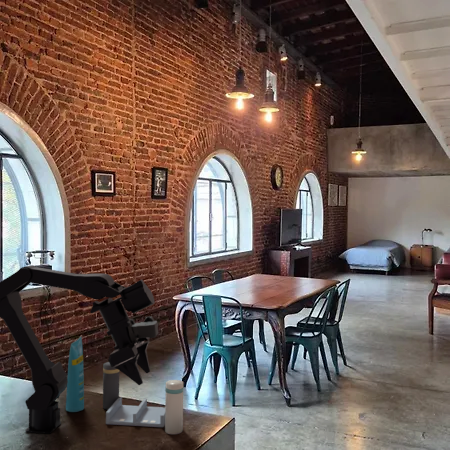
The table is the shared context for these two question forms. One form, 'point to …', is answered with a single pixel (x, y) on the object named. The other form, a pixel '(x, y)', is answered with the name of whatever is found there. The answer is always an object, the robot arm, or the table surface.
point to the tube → (75, 378)
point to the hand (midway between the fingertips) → (144, 378)
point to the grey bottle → (110, 385)
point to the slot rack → (135, 414)
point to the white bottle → (174, 407)
